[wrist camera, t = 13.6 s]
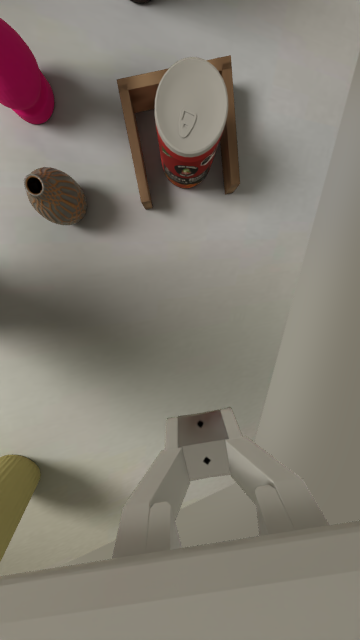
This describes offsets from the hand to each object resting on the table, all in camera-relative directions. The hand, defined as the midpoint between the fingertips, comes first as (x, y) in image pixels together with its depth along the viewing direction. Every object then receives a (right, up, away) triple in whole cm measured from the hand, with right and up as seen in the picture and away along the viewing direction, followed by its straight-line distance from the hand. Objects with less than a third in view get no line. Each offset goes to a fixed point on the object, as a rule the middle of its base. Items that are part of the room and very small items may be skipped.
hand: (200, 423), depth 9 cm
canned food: (0, +30, +22) cm, 37 cm away
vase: (-19, +24, +23) cm, 38 cm away
